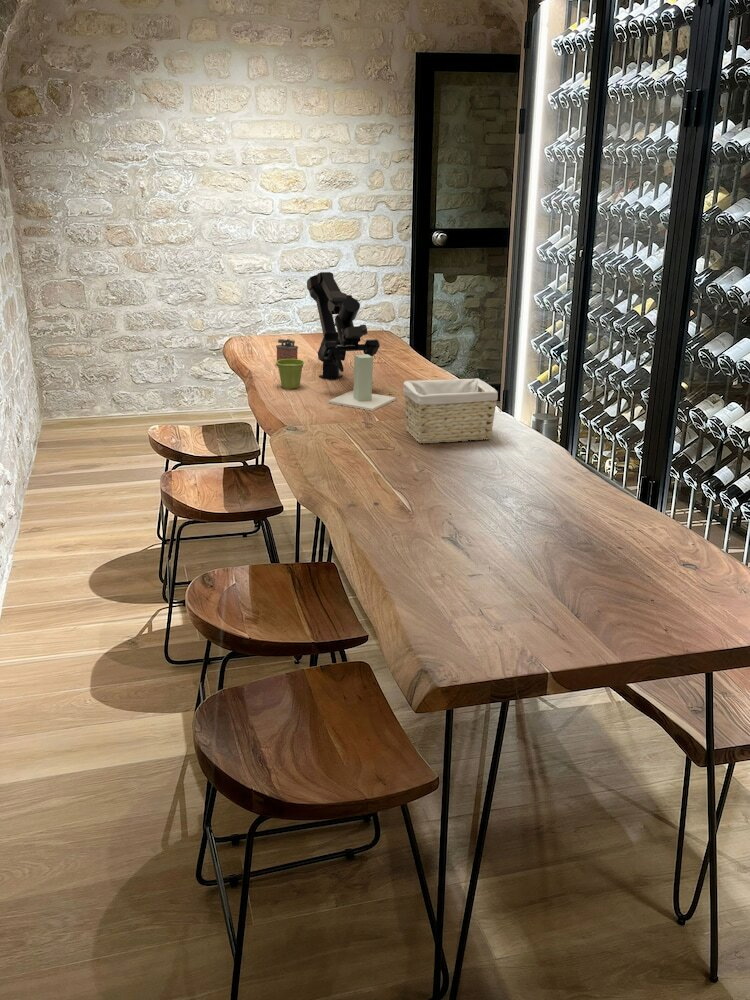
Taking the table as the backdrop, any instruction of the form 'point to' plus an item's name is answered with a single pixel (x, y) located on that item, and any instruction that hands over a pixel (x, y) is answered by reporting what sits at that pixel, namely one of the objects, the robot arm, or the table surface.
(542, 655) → the table surface
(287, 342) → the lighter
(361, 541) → the table surface
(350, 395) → the tile
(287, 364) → the plant pot
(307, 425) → the table surface
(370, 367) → the block
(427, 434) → the storage basket
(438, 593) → the table surface
